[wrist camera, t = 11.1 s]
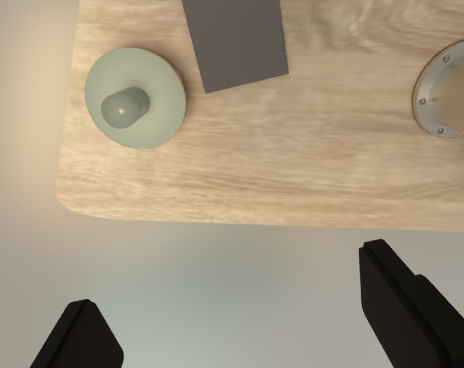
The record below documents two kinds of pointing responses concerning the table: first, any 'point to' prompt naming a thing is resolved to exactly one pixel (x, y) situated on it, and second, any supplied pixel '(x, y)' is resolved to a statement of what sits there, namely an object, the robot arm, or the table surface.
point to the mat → (236, 41)
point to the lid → (135, 98)
